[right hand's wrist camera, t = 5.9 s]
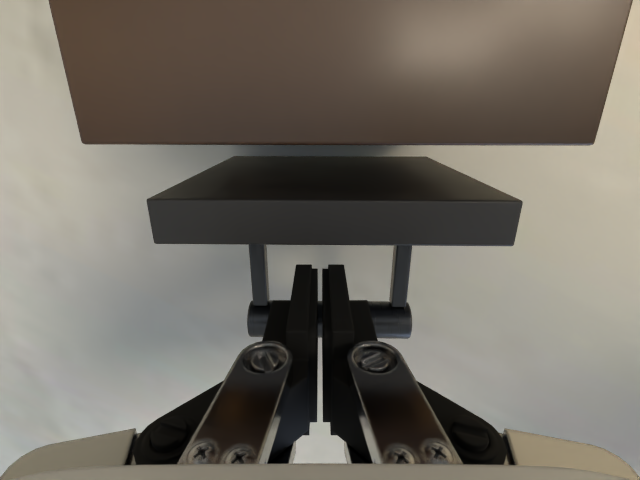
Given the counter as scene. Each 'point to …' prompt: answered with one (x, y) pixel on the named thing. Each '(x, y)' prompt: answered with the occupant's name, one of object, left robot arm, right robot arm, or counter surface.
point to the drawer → (334, 216)
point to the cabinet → (339, 70)
